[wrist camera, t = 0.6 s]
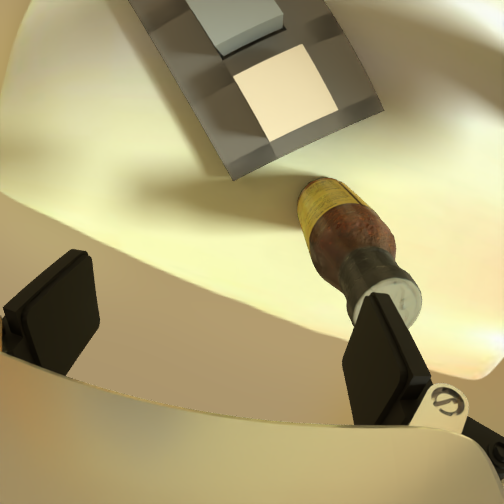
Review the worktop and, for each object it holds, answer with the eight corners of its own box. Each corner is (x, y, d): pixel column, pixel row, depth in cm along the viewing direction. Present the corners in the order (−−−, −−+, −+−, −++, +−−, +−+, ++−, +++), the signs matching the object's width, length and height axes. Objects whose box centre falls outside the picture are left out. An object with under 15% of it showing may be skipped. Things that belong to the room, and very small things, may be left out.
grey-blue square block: (251, -19, 22) (246, -38, 18) (282, 27, 24) (283, 13, 20) (194, 9, 23) (181, -6, 19) (223, 56, 25) (214, 46, 21)
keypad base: (246, -84, 20) (243, -97, 17) (375, 110, 29) (384, 110, 26) (122, -21, 24) (110, -29, 21) (236, 175, 33) (233, 181, 30)
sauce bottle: (288, 222, 34) (299, 344, 16) (307, 167, 32) (348, 237, 14) (344, 240, 35) (400, 365, 17) (364, 187, 32) (456, 276, 14)
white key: (298, 54, 25) (302, 43, 21) (329, 110, 26) (338, 110, 22) (239, 82, 26) (232, 76, 22) (270, 138, 28) (269, 142, 24)
